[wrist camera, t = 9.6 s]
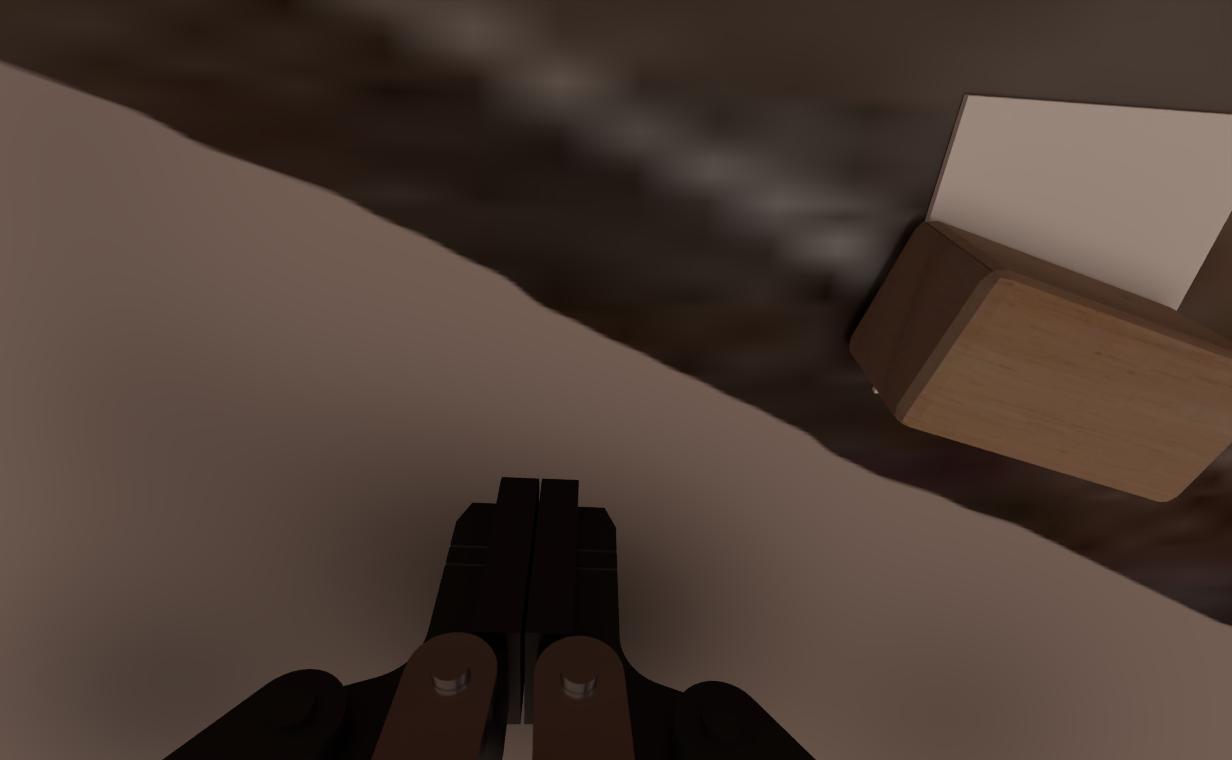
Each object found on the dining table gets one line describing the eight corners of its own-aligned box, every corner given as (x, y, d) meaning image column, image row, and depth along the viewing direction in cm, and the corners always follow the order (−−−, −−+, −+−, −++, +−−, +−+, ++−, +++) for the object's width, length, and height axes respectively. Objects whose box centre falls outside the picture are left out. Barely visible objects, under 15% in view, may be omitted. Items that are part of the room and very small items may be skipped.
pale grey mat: (964, 94, 38) (968, 95, 38) (1274, 117, 39) (1282, 118, 39) (871, 389, 49) (874, 393, 48) (1120, 401, 50) (1124, 404, 49)
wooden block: (917, 210, 41) (1170, 305, 45) (838, 346, 46) (1073, 421, 50) (1002, 271, 33) (1305, 381, 37) (894, 429, 37) (1172, 512, 41)
